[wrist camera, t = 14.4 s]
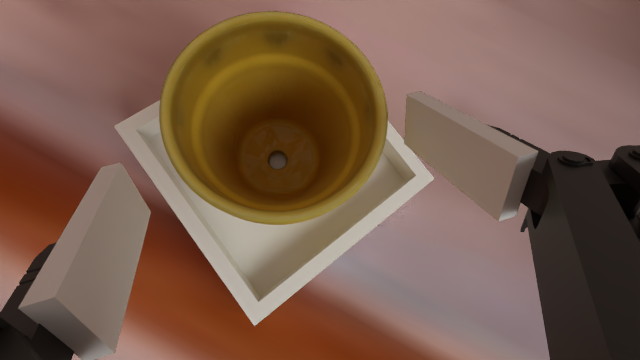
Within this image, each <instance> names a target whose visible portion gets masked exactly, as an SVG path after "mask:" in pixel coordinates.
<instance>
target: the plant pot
mask: <svg viewBox="0 0 640 360" xmlns="http://www.w3.org/2000/svg"><path fill="white" fill-rule="evenodd" d="M159 122H160V131H161V136H162V140H163V144H164V147H165V150H166V153H167V155H168V157H169V159H170V161H171V163H172V165H173V166H174V168H175V170H176V171H177V173H178V174H179V176H180V177H181V178H182V180H183V181H184V182H185V183H186V184H187V185H188V187H189V188H190V189H191V190H192V191H193V192H195V193H196V194H197V195H198V196H199V197H201V198H202V199H203V200H205V201H206V202H207V203H209V204H210V205H212V206H214V207H215V208H217V209H219V210H221V211H223V212H225V213H227V214H229V215H232V216H234V217H237V218H240V219H243V220H246V221H250V222H254V223H259V224H268V225H287V224H294V223H300V222H304V221H308V220H311V219H314V218H316V217H319V216H321V215H324V214H326V213H327V212H329V211H331V210H333V209H335V208H336V207H338V206H340V205H341V204H343V203H344V202H346V201H347V200H348V199H350V198H351V197H352V196H353V195H354V194H355V193H356V192H357V191H358V190H359V189H360V188H361V187H362V186H363V185H364V184H365V182H366V181H367V180H368V179H369V177H370V176H371V174H372V173H373V171H374V169H375V167H376V166H377V164H378V161H379V159H380V157H381V154H382V152H383V148H384V145H385V141H386V135H387V127H388V112H387V104H386V99H385V95H384V91H383V88H382V85H381V83H380V80H379V78H378V76H377V74H376V72H375V70H374V68H373V67H372V65H371V64H370V62H369V61H368V59H367V58H366V57H365V56H364V54H363V53H362V52H361V51H360V50H359V49H358V48H357V47H356V45H355V44H354V43H352V42H351V41H350V40H349V39H348V38H346V37H345V36H344V35H343V34H341V33H340V32H338V31H337V30H335V29H334V28H332V27H330V26H328V25H326V24H324V23H322V22H320V21H318V20H315V19H313V18H310V17H307V16H303V15H299V14H294V13H288V12H278V11H268V12H255V13H248V14H244V15H239V16H236V17H232V18H230V19H227V20H224V21H222V22H220V23H218V24H216V25H214V26H212V27H210V28H209V29H207V30H205V31H204V32H203V33H201V34H200V35H199V36H197V37H196V38H195V39H194V40H193V41H192V42H190V43H189V44H188V45H187V46H186V48H185V49H184V50H183V51H182V52H181V53H180V54H179V56H178V57H177V59H176V60H175V62H174V63H173V65H172V66H171V68H170V70H169V72H168V74H167V77H166V79H165V82H164V85H163V89H162V93H161V98H160V107H159ZM274 154H282V155H283V156H285V158H286V164H285V166H284V167H282V168H280V169H274V168H272V167H271V166H270V163H269V160H270V157H271V156H272V155H274Z"/></svg>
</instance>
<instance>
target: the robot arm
mask: <svg viewBox="0 0 640 360" xmlns="http://www.w3.org/2000/svg"><path fill="white" fill-rule="evenodd" d="M404 144H405V145H406V146H407V147H409V148H410V149H411V150H412V151H413V152H415V153H416V154H417V155H418V156H420V157H421V158H422V159H423V160H424V161H426V162H427V163H428V164H429V165H430V166H432V167H433V168H434V169H435V170H437V171H438V172H439V173H440V174H441V175H443V176H444V177H445V178H446V179H447V180H449V181H450V182H451V183H452V184H454V185H455V186H456V187H457V188H458V189H460V190H461V191H462V192H463V193H464V194H466V195H467V196H468V197H469V198H471V199H472V200H473V201H474V202H475V203H477V204H478V205H479V206H480V207H481V208H483V209H484V210H485V211H486V212H488V213H489V214H490V215H491V216H492V217H494V218H495V219H496V220H497V221H498V222H499V221H502V220H504V219H507V218H510V217H513V216H516V214H517V211H518V208H519V205H520V203H522V204H524V205H525V206H527V207H528V211H527V213H526V216H525V219H524V221H523V224H522V227H521V231H520V232H524V231H525V228H526V227H528V231H529V237H530V243H531V249H532V255H533V261H534V266H535V272H536V278H537V284H538V290H539V296H540V302H541V308H542V314H543V320H544V326H545V332H546V337H547V343H548V349H549V355H550V360H640V145H637V146H631V145H628V146H621V147H619V148H617V149H616V151H615V153H614V155H613V157H612V159H611V160H602V161H595V160H594V159H593V158H591V157H589V156H587V155H584V154H581V153H578V152H572V151H556V152H552V153H551V154H550V153H548V152H546V151H544V150H542V149H540V148H538V147H536V146H534V145H532V144H530V143H528V142H526V141H524V140H522V139H519V138H518V137H516V136H514V135H510V133H508V132H506V131H504V130H502V129H500V128H497V127H493V126H489V125H486V124H484V123H482V122H480V121H478V120H476V119H474V118H472V117H470V116H468V115H466V114H464V113H463V112H461V111H459V110H457V109H455V108H453V107H451V106H449V105H447V104H445V103H443V102H441V101H439V100H437V99H435V98H433V97H431V96H429V95H427V94H425V93H423V92H421V91H419V92H415V93H411V94H407V98H406V118H405V138H404ZM150 214H151V211H150V210H149V208H148V206H147V205H146V203H145V201H144V200H143V198H142V196H141V195H140V193H139V191H138V189H137V188H136V186H135V184H134V183H133V181H132V179H131V178H130V176H129V174H128V173H127V171H126V169H125V168H124V166H123V164H122V163H121V162H120V163H116V164H112V165H108V166H104V167H101V168H100V170H99V172H98V174H97V175H96V177H95V179H94V180H93V182H92V184H91V185H90V187H89V189H88V190H87V192H86V194H85V196H84V197H83V199H82V201H81V202H80V204H79V206H78V207H77V209H76V211H75V213H74V214H73V216H72V218H71V219H70V221H69V223H68V224H67V226H66V228H65V229H64V231H63V233H62V235H61V236H60V238H59V240H58V241H57V243H54V244H50V245H48V246H47V247H46V248H45V249H44V250H43V251H42V252H41V253H40V254H39V255H38V256H37V257H36V258H35V259H34V260H33V262H32V264H31V265H30V267H29V268H28V270H27V271H26V272H27V274H25V275H24V276H23V278H22V279H21V281H20V282H19V284H20V285H19V286H17V287H16V289H15V290H14V292H13V293H12V295H11V297H10V298H9V300H8V301H7V303H6V304H5V306H4V308H3V309H2V311H1V312H0V360H71V359H72V356H73V354H76V355H77V356H78V357H79V358H81V359H82V360H96V359H99V358H102V357H104V356H107V355H110V354H113V353H115V351H116V347H117V343H118V339H119V335H120V331H121V327H122V323H123V319H124V316H125V312H126V308H127V304H128V300H129V296H130V292H131V288H132V284H133V280H134V277H135V273H136V269H137V265H138V261H139V257H140V253H141V249H142V245H143V241H144V238H145V234H146V230H147V226H148V222H149V218H150Z"/></svg>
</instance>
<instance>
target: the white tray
mask: <svg viewBox="0 0 640 360" xmlns="http://www.w3.org/2000/svg"><path fill="white" fill-rule="evenodd" d="M159 107H160V100H159V101H157V102H155V103H153V104H152V105H150V106H148V107H146V108H145V109H143V110H141V111H139V112H138V113H136V114H134V115H132V116H131V117H129V118H127V119H125V120H124V121H122V122H120V123H118V124H117V125H115V126H114V127H115V129H116V130H117V132H118V133H119V134H120V136H121V137H122V139H123V140H124V142H125V143H126V144H127V146H128V147H129V149H130V150H131V152H132V153H133V154H134V156H135V157H136V159H137V160H138V161H139V163H140V164H141V166H142V167H143V169H144V170H145V171H146V173H147V174H148V176H149V177H150V178H151V180H152V181H153V183H154V184H155V186H156V187H157V188H158V190H159V191H160V193H161V194H162V196H163V197H164V198H165V200H166V201H167V203H168V204H169V205H170V207H171V208H172V210H173V211H174V213H175V214H176V215H177V217H178V218H179V220H180V221H181V223H182V224H183V225H184V227H185V228H186V230H187V231H188V232H189V234H190V235H191V237H192V238H193V240H194V241H195V242H196V244H197V245H198V247H199V248H200V250H201V251H202V252H203V254H204V255H205V257H206V258H207V259H208V261H209V262H210V264H211V265H212V267H213V268H214V269H215V271H216V272H217V274H218V275H219V277H220V278H221V279H222V281H223V282H224V284H225V285H226V286H227V288H228V289H229V291H230V292H231V294H232V295H233V296H234V298H235V299H236V301H237V302H238V303H239V305H240V306H241V308H242V309H243V311H244V312H245V313H246V315H247V316H248V318H249V319H250V321H251V322H252V323H253V325H254V326H255V325H257V324H258V323H259V322H260V321H261V320H263V319H264V318H265V317H266V316H267V315H269V314H270V313H271V312H272V311H274V310H275V309H276V308H277V307H278V306H280V305H281V304H282V303H283V302H285V301H286V300H287V299H288V298H289V297H291V296H292V295H293V294H294V293H296V292H297V291H298V290H299V289H300V288H302V287H303V286H304V285H305V284H307V283H308V282H309V281H310V280H311V279H313V278H314V277H315V276H316V275H317V274H319V273H320V272H321V271H322V270H324V269H325V268H326V267H327V266H328V265H330V264H331V263H332V262H333V261H335V260H336V259H337V258H338V257H339V256H341V255H342V254H343V253H344V252H346V251H347V250H348V249H349V248H350V247H352V246H353V245H354V244H355V243H357V242H358V241H359V240H360V239H361V238H363V237H364V236H365V235H366V234H367V233H369V232H370V231H371V230H372V229H374V228H375V227H376V226H377V225H378V224H380V223H381V222H382V221H383V220H385V219H386V218H387V217H388V216H389V215H391V214H392V213H393V212H394V211H396V210H397V209H398V208H399V207H400V206H402V205H403V204H404V203H405V202H407V201H408V200H409V199H410V198H411V197H413V196H414V195H415V194H416V193H417V192H419V191H420V190H421V189H422V188H424V187H425V186H426V185H427V184H428V183H430V182H431V181H432V180H433V179H434V177H433V176H432V175H431V174H430V172H429V171H428V170H427V169H426V167H425V166H424V165H423V164H422V162H421V161H420V160H419V159H418V157H417V156H416V155H415V154H414V152H413V151H412V150H411V149H410V148H409V147H407V146H406V145H405V144H404V140H403V139H402V137H401V136H400V135H399V134H398V132H397V131H396V130H395V129H394V127H393V126H392V125H391V124H390V122H389V121H388V127H387V135H386V141H385V145H384V148H383V152H382V154H381V157H380V159H379V161H378V164H377V166H376V167H375V169H374V171H373V173H372V174H371V176H370V177H369V179H368V180H367V181H366V182H365V184H364V185H363V186H362V187H361V188H360V189H359V190H358V191H357V192H356V193H355V194H354V195H353V196H352V197H351V198H350V199H348V200H347V201H346V202H344V203H343V204H341V205H340V206H338V207H336V208H335V209H333V210H331V211H329V212H327V213H326V214H324V215H321V216H319V217H316V218H314V219H311V220H308V221H304V222H300V223H294V224H287V225H268V224H259V223H254V222H250V221H246V220H243V219H240V218H237V217H234V216H232V215H229V214H227V213H225V212H223V211H221V210H219V209H217V208H215V207H214V206H212V205H210V204H209V203H207V202H206V201H205V200H203V199H202V198H201V197H199V196H198V195H197V194H196V193H195V192H193V191H192V190H191V189H190V188H189V187H188V185H187V184H186V183H185V182H184V181H183V180H182V178H181V177H180V176H179V174H178V173H177V171H176V170H175V168H174V166H173V165H172V163H171V161H170V159H169V157H168V155H167V153H166V150H165V147H164V144H163V140H162V136H161V131H160V122H159ZM269 163H270V166H271V167H272V168H274V169H280V168H282V167H284V166H285V164H286V158H285V156H283V155H282V154H274V155H272V156H271V157H270V160H269Z"/></svg>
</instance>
